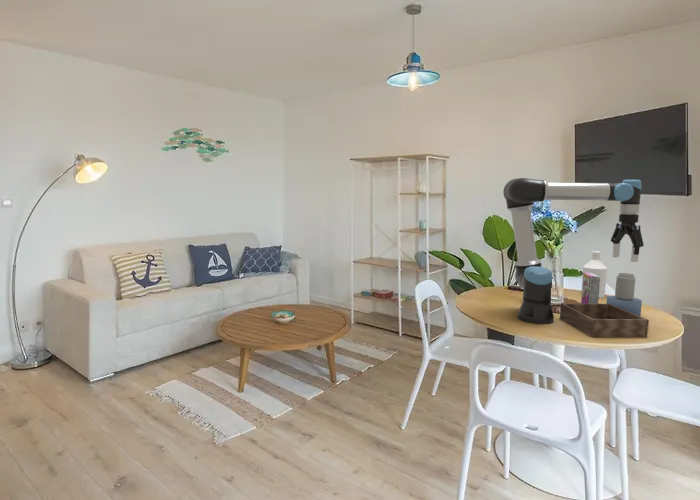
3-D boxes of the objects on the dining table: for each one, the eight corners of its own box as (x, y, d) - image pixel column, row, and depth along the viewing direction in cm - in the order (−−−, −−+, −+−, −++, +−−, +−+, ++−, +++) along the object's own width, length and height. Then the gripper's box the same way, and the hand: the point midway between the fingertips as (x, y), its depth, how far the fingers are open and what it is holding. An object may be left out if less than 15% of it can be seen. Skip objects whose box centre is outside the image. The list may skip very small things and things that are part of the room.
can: (612, 298, 206) (614, 273, 205) (617, 296, 212) (619, 271, 210) (631, 301, 201) (633, 275, 200) (635, 299, 206) (637, 273, 205)
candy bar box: (580, 303, 231) (582, 272, 229) (590, 303, 230) (593, 272, 228) (587, 308, 220) (589, 276, 218) (598, 308, 219) (600, 276, 217)
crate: (591, 336, 176) (593, 320, 175) (559, 318, 202) (560, 303, 201) (647, 336, 176) (648, 320, 176) (608, 318, 203) (609, 303, 202)
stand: (617, 319, 200) (618, 302, 199) (599, 311, 214) (600, 295, 213) (647, 319, 201) (649, 302, 200) (627, 311, 214) (629, 295, 213)
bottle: (586, 292, 257) (589, 249, 253) (608, 295, 248) (611, 251, 244) (577, 295, 249) (580, 251, 246) (600, 299, 240) (603, 253, 237)
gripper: (656, 215, 189) (651, 263, 192) (620, 212, 214) (616, 255, 217) (638, 215, 189) (634, 263, 192) (604, 212, 214) (601, 255, 217)
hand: (624, 259), depth 204 cm, fingers open, 13 cm apart
